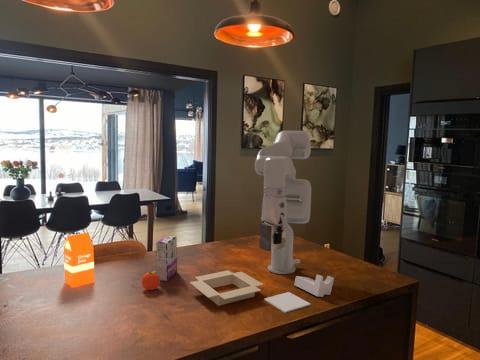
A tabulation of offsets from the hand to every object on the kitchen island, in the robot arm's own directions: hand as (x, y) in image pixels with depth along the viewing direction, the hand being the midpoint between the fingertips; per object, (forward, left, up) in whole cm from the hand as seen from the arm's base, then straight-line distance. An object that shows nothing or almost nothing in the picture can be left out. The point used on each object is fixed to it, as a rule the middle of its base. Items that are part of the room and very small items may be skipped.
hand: (272, 241), depth 135 cm
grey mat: (-4, +5, -22) cm, 23 cm away
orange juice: (+57, -52, -23) cm, 81 cm away
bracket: (-20, +1, -23) cm, 31 cm away
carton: (+11, -13, -22) cm, 28 cm away
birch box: (0, 0, -2) cm, 2 cm away
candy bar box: (+24, -41, -23) cm, 53 cm away
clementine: (+34, -31, -23) cm, 52 cm away
